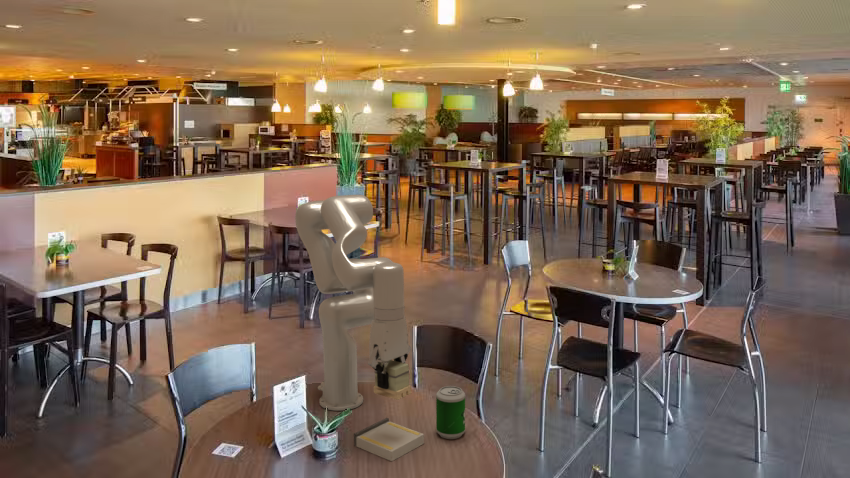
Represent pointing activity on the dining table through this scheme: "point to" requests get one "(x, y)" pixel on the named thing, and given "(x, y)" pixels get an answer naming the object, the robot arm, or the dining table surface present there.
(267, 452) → the dining table surface
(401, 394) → the pallet
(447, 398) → the soda can
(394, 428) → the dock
